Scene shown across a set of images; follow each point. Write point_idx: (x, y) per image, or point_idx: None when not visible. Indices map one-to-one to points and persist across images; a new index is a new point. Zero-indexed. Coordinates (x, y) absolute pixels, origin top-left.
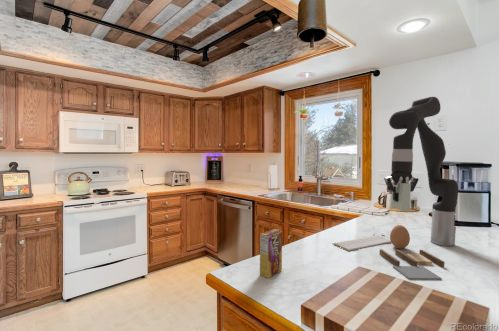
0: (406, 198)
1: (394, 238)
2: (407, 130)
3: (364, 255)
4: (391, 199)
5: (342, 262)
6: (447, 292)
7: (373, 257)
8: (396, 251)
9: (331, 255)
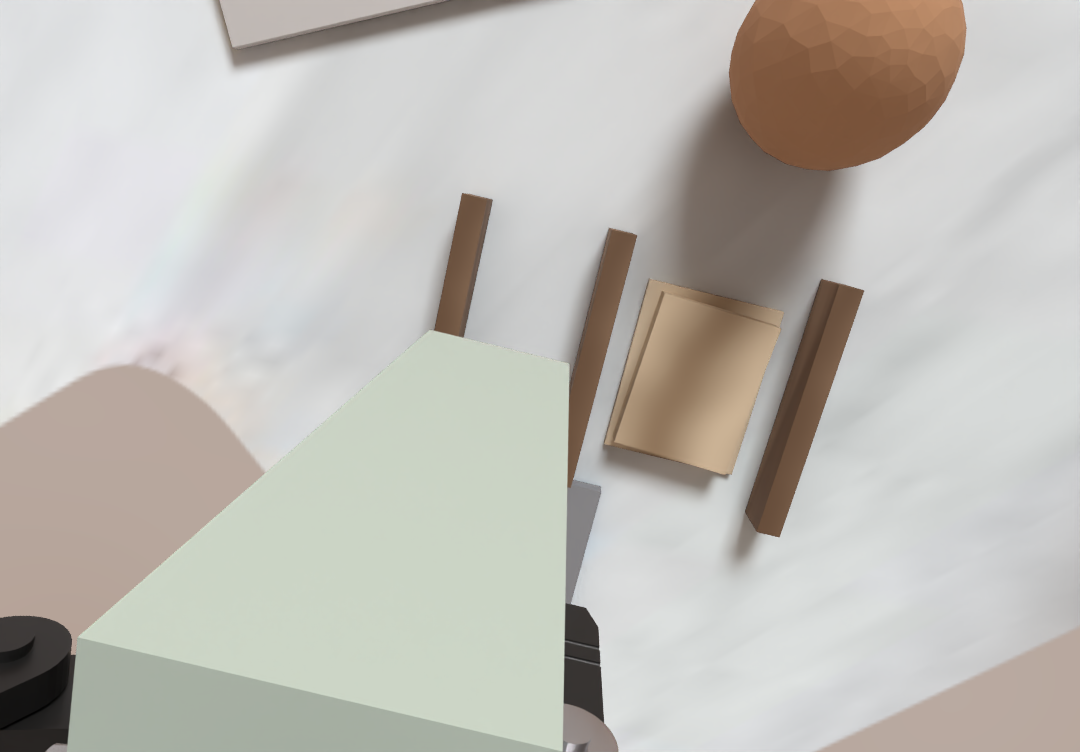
0: None
1: (736, 88)
2: None
3: (327, 176)
4: (392, 367)
5: (63, 268)
6: None
7: (377, 232)
8: (606, 245)
9: (34, 113)
